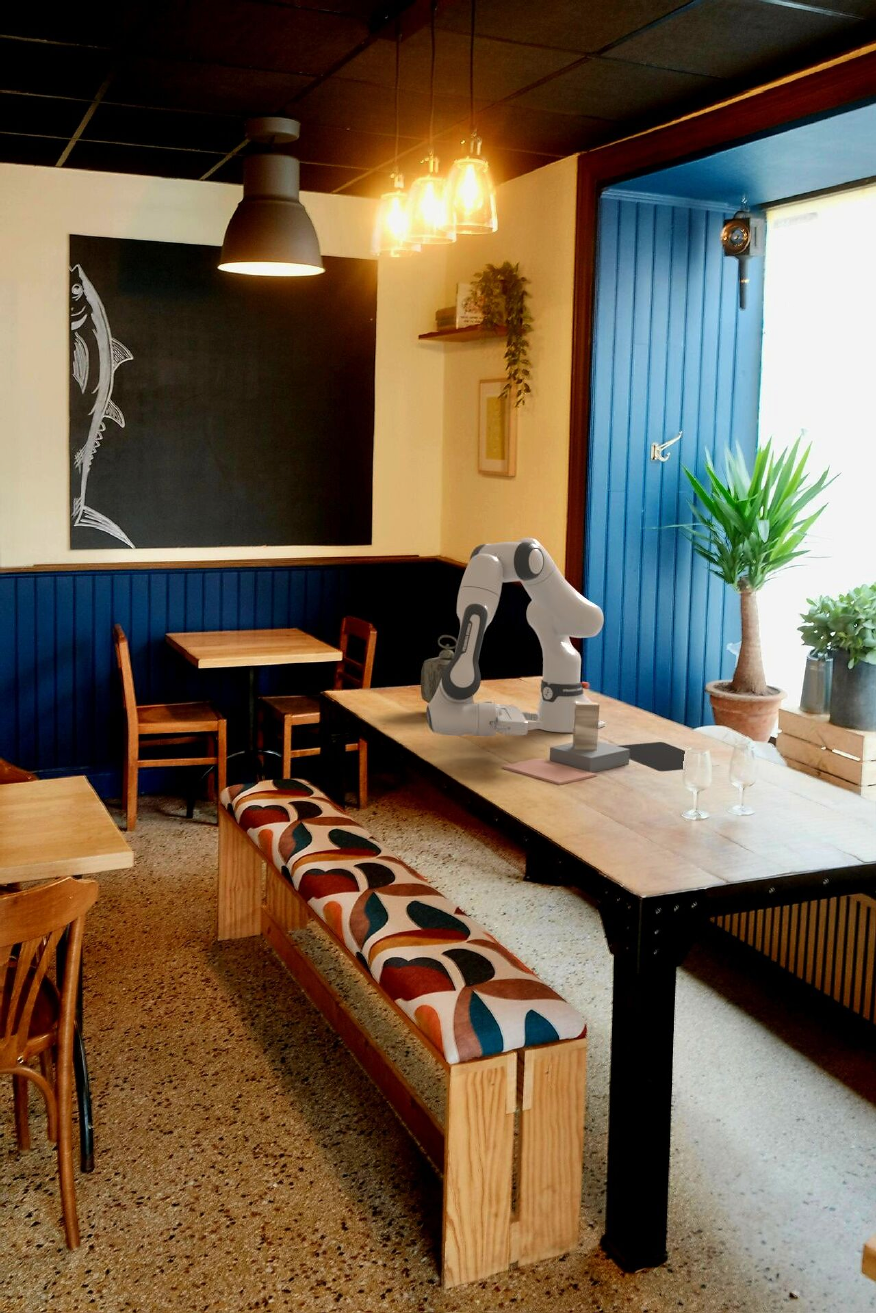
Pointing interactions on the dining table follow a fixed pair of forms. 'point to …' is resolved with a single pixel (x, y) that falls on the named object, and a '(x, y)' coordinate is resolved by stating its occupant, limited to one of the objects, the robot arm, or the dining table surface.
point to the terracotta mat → (549, 771)
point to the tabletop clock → (435, 671)
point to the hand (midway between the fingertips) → (540, 720)
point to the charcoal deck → (590, 756)
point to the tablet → (657, 755)
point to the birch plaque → (586, 726)
